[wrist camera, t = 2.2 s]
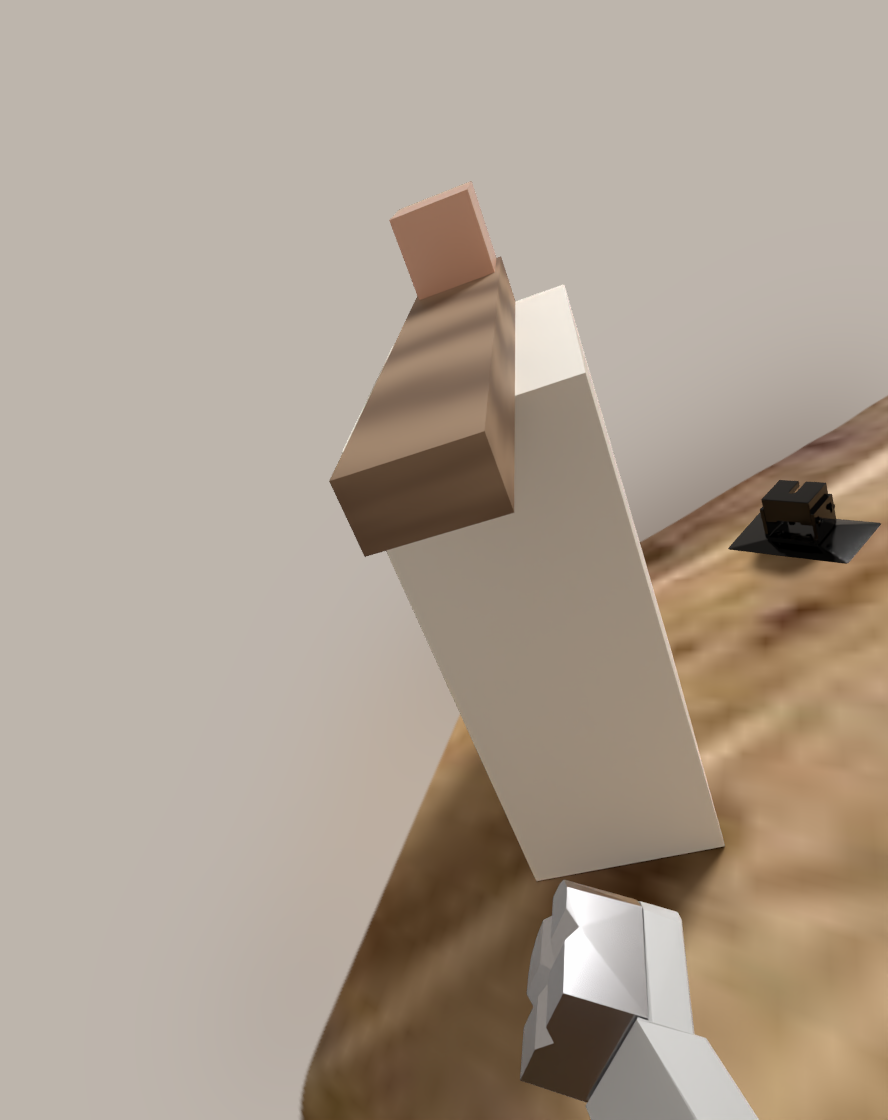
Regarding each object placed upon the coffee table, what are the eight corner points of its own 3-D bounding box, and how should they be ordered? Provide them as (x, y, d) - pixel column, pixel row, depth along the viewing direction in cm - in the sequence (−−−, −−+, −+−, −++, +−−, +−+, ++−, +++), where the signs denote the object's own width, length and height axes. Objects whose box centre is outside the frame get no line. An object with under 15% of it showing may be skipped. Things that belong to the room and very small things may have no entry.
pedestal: (531, 693, 59) (393, 345, 47) (673, 658, 56) (564, 284, 45) (536, 881, 45) (341, 453, 33) (725, 846, 42) (585, 372, 31)
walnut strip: (438, 329, 46) (422, 285, 45) (515, 301, 45) (500, 256, 44) (364, 556, 24) (329, 481, 23) (514, 512, 23) (484, 431, 22)
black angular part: (908, 526, 60) (902, 471, 58) (866, 582, 57) (857, 526, 55) (750, 511, 70) (739, 463, 68) (705, 559, 66) (692, 510, 64)
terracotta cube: (426, 284, 45) (399, 209, 44) (496, 258, 44) (471, 180, 43) (419, 300, 42) (389, 220, 40) (494, 272, 41) (467, 189, 39)
